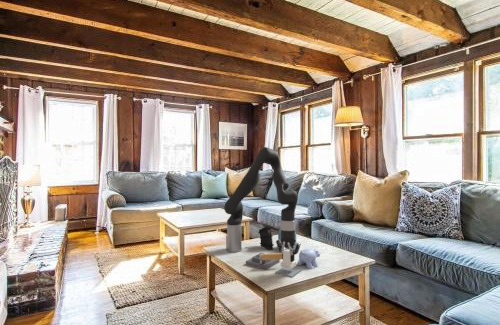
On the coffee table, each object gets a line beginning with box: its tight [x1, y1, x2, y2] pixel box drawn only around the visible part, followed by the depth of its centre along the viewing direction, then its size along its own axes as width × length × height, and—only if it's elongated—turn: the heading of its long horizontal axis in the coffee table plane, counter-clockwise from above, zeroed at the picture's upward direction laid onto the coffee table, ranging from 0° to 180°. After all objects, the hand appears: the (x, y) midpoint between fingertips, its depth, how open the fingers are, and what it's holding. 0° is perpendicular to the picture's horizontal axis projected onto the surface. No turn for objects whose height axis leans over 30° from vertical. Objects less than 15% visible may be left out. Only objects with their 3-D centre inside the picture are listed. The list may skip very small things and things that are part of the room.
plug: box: [280, 249, 297, 269], centre depth 153 cm, size 6×6×8 cm
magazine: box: [257, 225, 274, 251], centre depth 194 cm, size 4×13×15 cm, turn 29°
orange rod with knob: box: [258, 252, 283, 260], centre depth 160 cm, size 2×14×3 cm, turn 96°
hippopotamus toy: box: [296, 248, 321, 270], centre depth 164 cm, size 11×15×10 cm
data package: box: [277, 229, 297, 251], centre depth 192 cm, size 12×4×12 cm, turn 43°
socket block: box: [245, 252, 281, 271], centre depth 166 cm, size 14×14×4 cm
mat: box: [274, 267, 302, 278], centre depth 153 cm, size 10×10×1 cm
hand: (288, 260), depth 153 cm, fingers closed on plug, 4 cm apart
